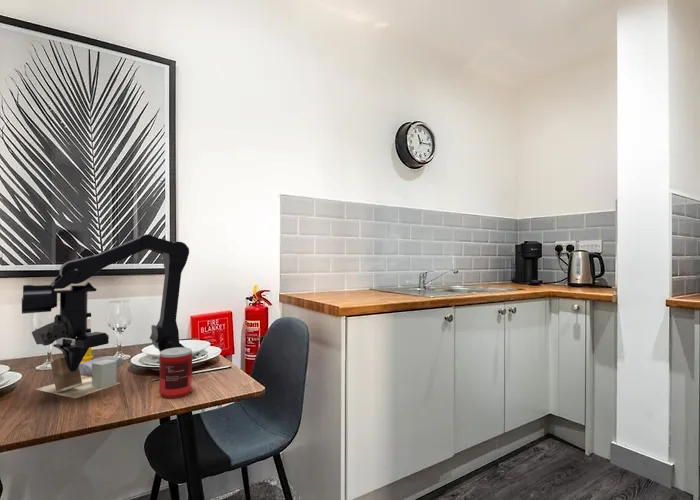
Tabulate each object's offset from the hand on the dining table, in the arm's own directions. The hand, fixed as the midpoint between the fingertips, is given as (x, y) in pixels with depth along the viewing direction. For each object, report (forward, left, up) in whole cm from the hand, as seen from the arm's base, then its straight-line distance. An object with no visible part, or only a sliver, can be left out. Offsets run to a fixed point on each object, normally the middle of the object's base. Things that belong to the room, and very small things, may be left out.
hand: (73, 371), depth 99 cm
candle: (+24, -20, -6) cm, 32 cm away
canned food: (-23, -12, -6) cm, 26 cm away
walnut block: (+1, 0, -5) cm, 5 cm away
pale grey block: (-2, -7, -5) cm, 9 cm away
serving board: (+3, -4, -6) cm, 8 cm away
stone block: (+15, -16, -7) cm, 23 cm away
